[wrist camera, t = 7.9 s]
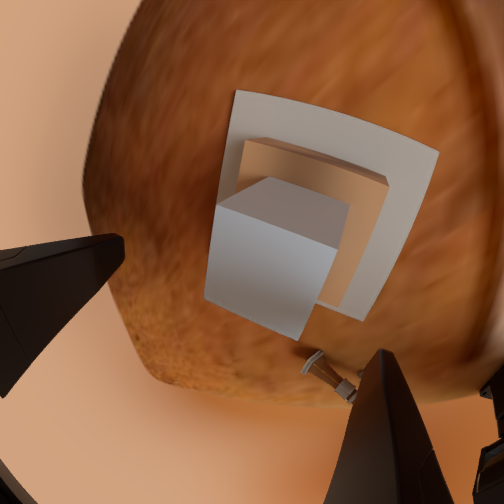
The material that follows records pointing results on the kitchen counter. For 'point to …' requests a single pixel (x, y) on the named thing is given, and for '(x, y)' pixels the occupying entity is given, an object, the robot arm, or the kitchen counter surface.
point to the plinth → (329, 184)
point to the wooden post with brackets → (330, 376)
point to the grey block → (273, 253)
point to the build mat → (351, 150)
